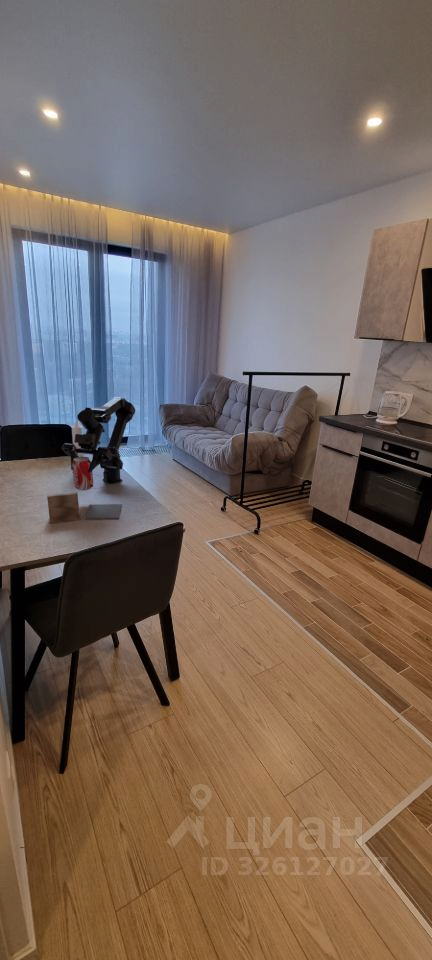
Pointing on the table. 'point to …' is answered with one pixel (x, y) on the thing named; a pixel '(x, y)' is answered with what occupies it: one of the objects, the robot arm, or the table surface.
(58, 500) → the walnut screen
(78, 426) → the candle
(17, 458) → the table surface
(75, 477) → the soda can
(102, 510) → the charcoal mat
